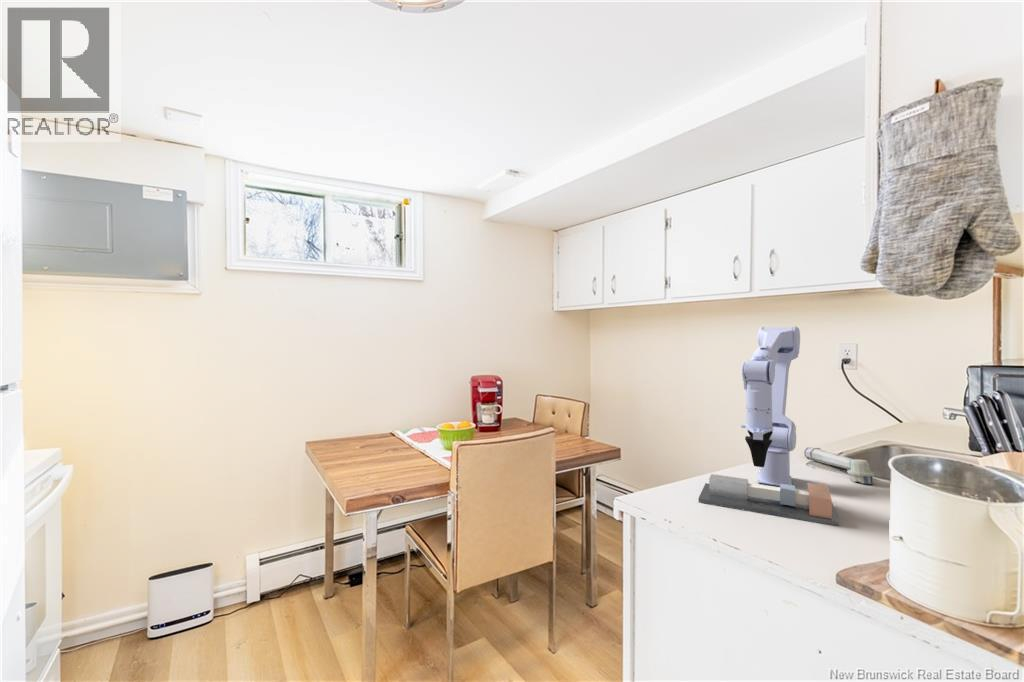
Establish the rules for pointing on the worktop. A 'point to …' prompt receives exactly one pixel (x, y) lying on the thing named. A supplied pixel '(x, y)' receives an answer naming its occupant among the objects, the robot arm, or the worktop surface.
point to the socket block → (819, 500)
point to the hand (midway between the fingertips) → (759, 462)
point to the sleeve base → (754, 500)
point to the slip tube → (779, 494)
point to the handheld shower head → (843, 464)
